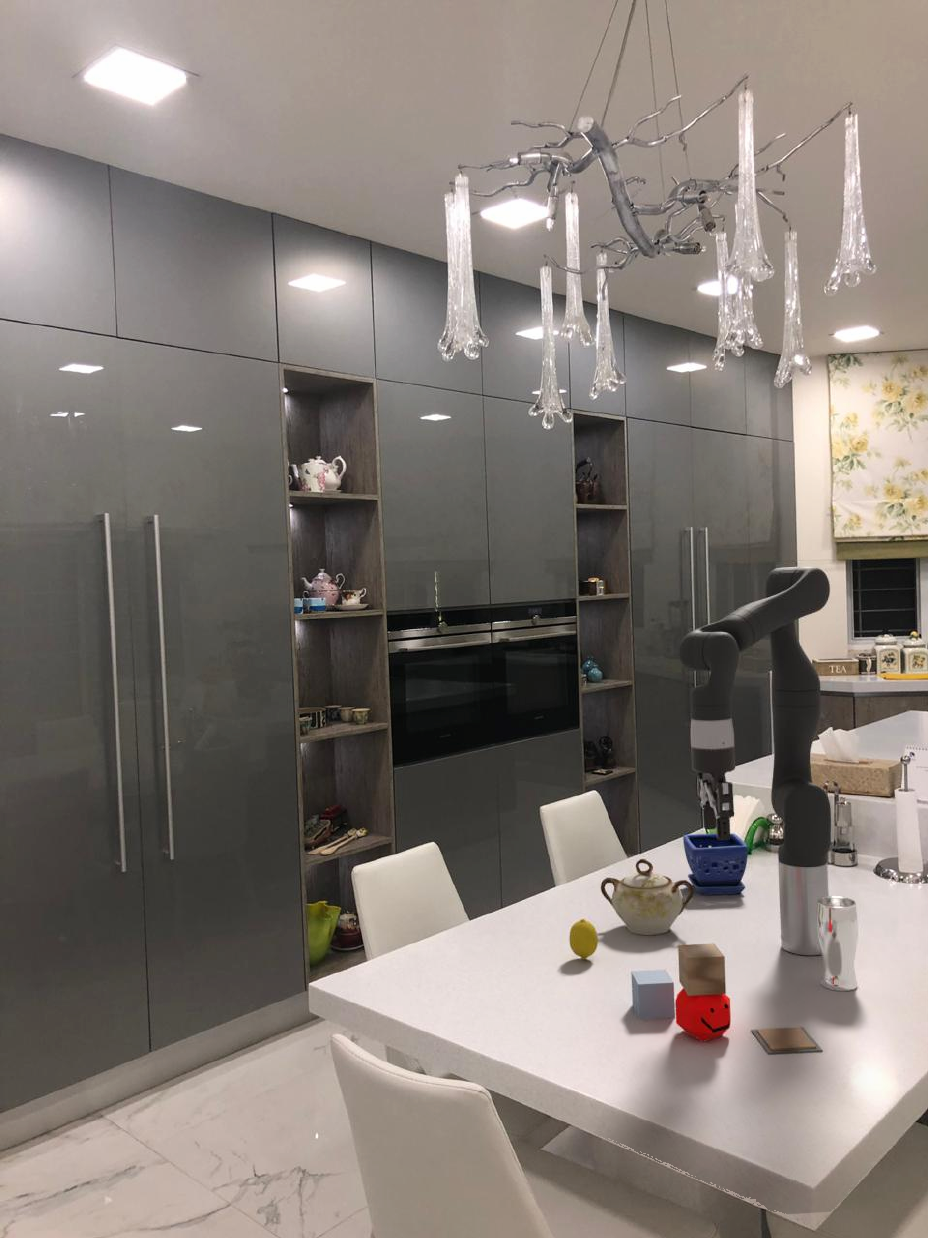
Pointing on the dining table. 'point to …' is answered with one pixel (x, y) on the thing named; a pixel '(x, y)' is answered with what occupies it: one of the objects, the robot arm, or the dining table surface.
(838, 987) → the beer glass
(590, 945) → the lemon
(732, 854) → the flower pot
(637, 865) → the sugar bowl
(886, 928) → the dining table surface
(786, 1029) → the walnut swatch
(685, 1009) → the ball
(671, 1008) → the slate cube
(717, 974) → the walnut cube
